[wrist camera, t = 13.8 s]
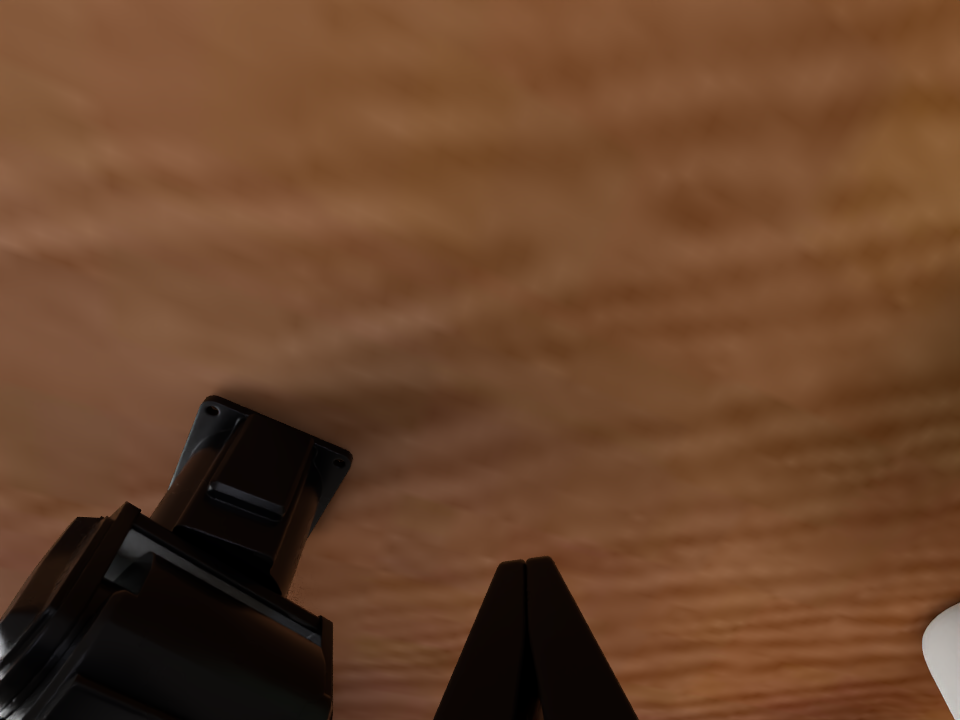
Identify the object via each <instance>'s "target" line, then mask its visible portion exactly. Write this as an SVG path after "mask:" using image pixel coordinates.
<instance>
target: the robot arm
mask: <svg viewBox="0 0 960 720" xmlns="http://www.w3.org/2000/svg"><path fill="white" fill-rule="evenodd" d="M211 406H213V407H215V408H217V409H218V410H215V409H213V408H212V407H211ZM337 459H341V460H343V462H341V461H338V460H337ZM352 460H353V457H352V454H351V453H350V452H349V451H347V450H345V449H343V448H341V447H338V446H336V445H334V444H331V443H329V442H326V441H324V440H322V439H319V438H317V437H315V436H312V435H310V434H307V433H305V432H303V431H300V430H298V429H296V428H293V427H291V426H288V425H286V424H284V423H281V422H279V421H277V420H274V419H272V418H269V417H267V416H265V415H262V414H260V413H258V412H255V411H253V410H250V409H248V408H246V407H243V406H241V405H239V404H236V403H234V402H231V401H229V400H227V399H224V398H222V397H219V396H215V395H213V396H208V397H206V399H205V400H204V402H203V403H202V404H201V406H200V408H199V411H198V413H197V416H196V418H195V421H194V424H193V426H192V429H191V431H190V434H189V437H188V439H187V442H186V444H185V447H184V450H183V452H182V455H181V457H180V460H179V463H178V465H177V468H176V470H175V473H174V476H173V478H172V481H171V483H170V486H169V489H168V491H167V493H166V494H165V496H164V497H163V499H162V500H161V502H160V503H159V505H158V506H157V508H156V509H155V511H154V512H153V514H152V516H151V517H150V518H148V517H147V516H145V515H143V514H141V513H140V512H141V509H139V508H137V507H135V506H134V505H132V504H130V503H129V502H127V501H126V502H125V503H124V504H123V505H122V506H121V507H120V508H119V509H118V510H117V511H116V512H114V513H113V514H112V515H111V516H110V517H108V516H106V517H105V518H104V517H102V516H101V517H100V518H91V517H77V518H76V519H75V520H74V521H73V522H72V523H71V524H70V525H69V526H68V527H67V528H66V530H65V531H64V532H63V533H62V535H61V536H60V537H59V538H58V540H57V541H56V542H55V543H54V545H53V546H52V547H51V548H50V550H49V551H48V552H47V553H46V555H45V556H44V557H43V558H42V560H41V561H40V562H39V564H38V565H37V566H36V567H35V569H34V570H33V572H32V573H31V574H30V576H29V577H28V578H27V580H26V581H25V583H24V584H23V586H22V587H21V589H20V590H19V592H18V593H17V595H16V596H15V598H14V599H13V601H12V602H11V604H10V606H9V607H8V609H7V610H6V612H5V613H4V615H3V616H2V618H1V619H0V720H332V716H333V623H332V622H331V621H329V620H328V619H326V618H324V617H323V616H321V615H320V616H318V617H317V616H316V615H314V614H312V613H311V612H309V611H307V610H306V609H304V608H302V607H300V606H299V605H297V604H295V603H294V602H292V601H290V600H288V599H287V598H286V597H287V594H288V591H289V588H290V585H291V582H292V580H293V577H294V574H295V571H296V568H297V565H298V562H299V559H300V556H301V554H302V551H303V548H304V545H305V542H306V540H307V538H308V537H309V535H310V533H311V532H312V530H313V528H314V527H315V525H316V523H317V522H318V520H319V518H320V517H321V515H322V513H323V512H324V510H325V509H326V507H327V505H328V504H329V502H330V500H331V499H332V497H333V495H334V494H335V492H336V490H337V489H338V487H339V485H340V484H341V482H342V480H343V479H344V477H345V476H346V474H347V472H348V471H349V469H350V467H351V463H352ZM433 720H639V719H638V717H637V715H636V714H635V712H634V710H633V708H632V706H631V704H630V702H629V701H628V699H627V697H626V695H625V693H624V691H623V689H622V688H621V686H620V684H619V682H618V680H617V678H616V676H615V675H614V673H613V671H612V669H611V667H610V665H609V663H608V662H607V660H606V658H605V656H604V654H603V652H602V650H601V649H600V647H599V645H598V643H597V641H596V639H595V637H594V636H593V634H592V632H591V630H590V628H589V626H588V624H587V623H586V621H585V619H584V617H583V615H582V613H581V611H580V610H579V608H578V606H577V604H576V602H575V600H574V598H573V597H572V595H571V593H570V591H569V589H568V587H567V585H566V584H565V582H564V580H563V578H562V576H561V574H560V572H559V571H558V569H557V567H556V565H555V563H554V561H553V560H552V558H551V557H549V556H542V557H535V558H529V559H528V560H527V561H526V562H525V561H524V560H512V561H505V562H502V563H500V564H499V566H498V568H497V570H496V572H495V574H494V577H493V579H492V582H491V584H490V586H489V589H488V591H487V593H486V596H485V598H484V600H483V603H482V605H481V608H480V610H479V612H478V615H477V617H476V619H475V622H474V624H473V627H472V629H471V631H470V634H469V636H468V638H467V641H466V643H465V645H464V648H463V650H462V653H461V655H460V657H459V660H458V662H457V664H456V667H455V669H454V672H453V674H452V676H451V679H450V681H449V683H448V686H447V688H446V690H445V693H444V695H443V698H442V700H441V702H440V705H439V707H438V709H437V712H436V714H435V716H434V719H433Z"/></svg>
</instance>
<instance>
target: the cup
mask: <svg viewBox="0 0 960 720" xmlns="http://www.w3.org/2000/svg"><path fill="white" fill-rule="evenodd" d="M922 649H923V654H924V658H925V660H926V663H927V666H928V668H929V670H930V672H931V674H932V676H933V678H934V680H935V682H936V684H937V686H938V688H939V690H940V692H941V694H942V696H943V698H944V700H945V701H946V703H947V705H948V707H949V709H950V711H951V713H952V715H953V717H954V719H955V720H960V603H958V604H956V605H954V606H952V607H950V608H948V609H946V610H945V611H943V612H942V613H941V614H939V615H938V616H937V617H936V618H935V619H934V620H932V621H931V623H930V624H929V625H928V627H927V629H926V631H925V632H924V635H923V639H922Z"/></svg>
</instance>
